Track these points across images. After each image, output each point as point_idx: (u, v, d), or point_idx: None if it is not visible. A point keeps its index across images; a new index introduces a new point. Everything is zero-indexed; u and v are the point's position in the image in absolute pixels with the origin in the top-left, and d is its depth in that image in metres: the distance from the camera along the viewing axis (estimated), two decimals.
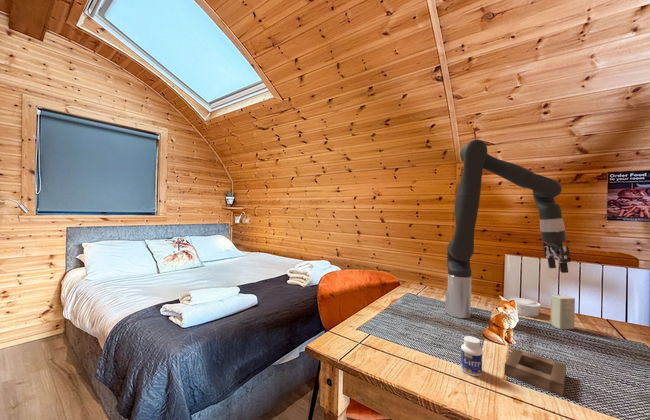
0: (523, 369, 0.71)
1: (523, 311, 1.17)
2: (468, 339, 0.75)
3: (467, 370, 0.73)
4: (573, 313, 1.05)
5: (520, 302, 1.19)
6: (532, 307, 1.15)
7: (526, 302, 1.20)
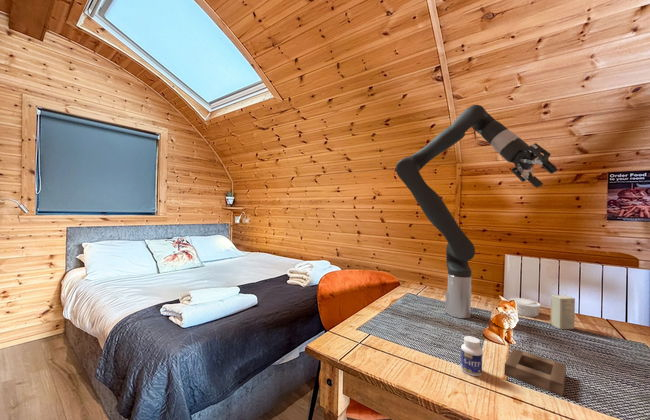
0: (523, 369, 0.71)
1: (523, 311, 1.17)
2: (468, 339, 0.75)
3: (467, 370, 0.73)
4: (573, 313, 1.05)
5: (520, 302, 1.19)
6: (532, 307, 1.15)
7: (526, 302, 1.20)
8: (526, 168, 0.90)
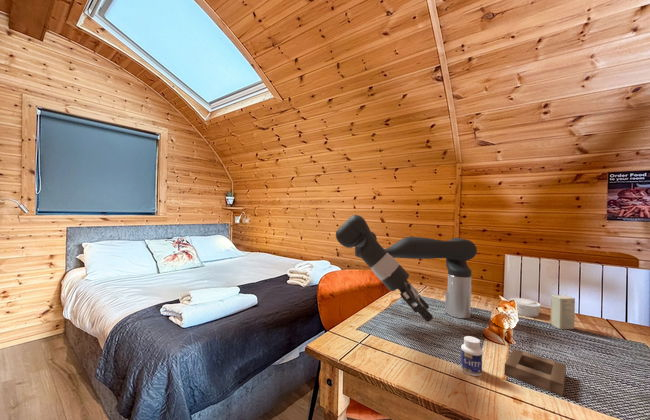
0: (523, 369, 0.71)
1: (523, 311, 1.17)
2: (468, 339, 0.75)
3: (467, 370, 0.73)
4: (573, 313, 1.05)
5: (520, 302, 1.19)
6: (532, 307, 1.15)
7: (526, 302, 1.20)
8: None
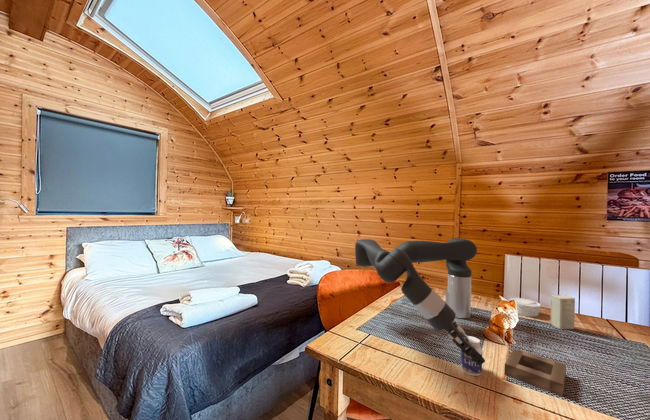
0: (523, 369, 0.71)
1: (523, 311, 1.17)
2: None
3: (467, 370, 0.73)
4: (573, 313, 1.05)
5: (520, 302, 1.19)
6: (532, 307, 1.15)
7: (526, 302, 1.20)
8: None
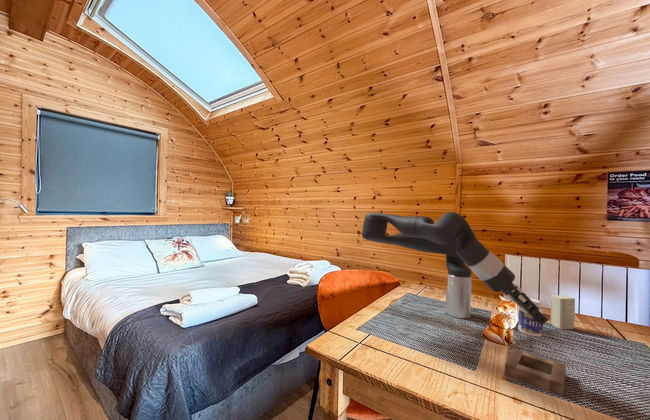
0: (523, 369, 0.71)
1: None
2: None
3: (527, 330, 0.72)
4: (573, 313, 1.05)
5: None
6: None
7: None
8: None
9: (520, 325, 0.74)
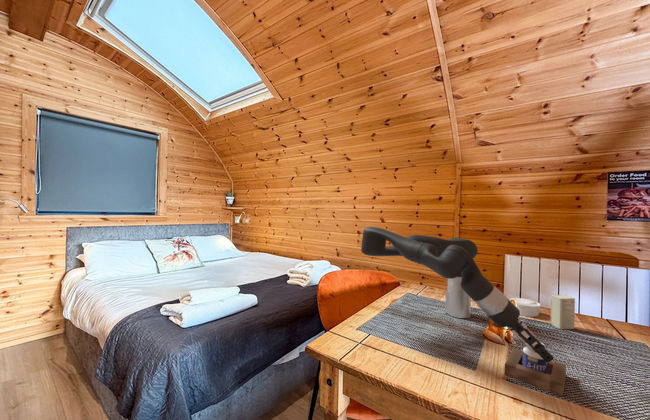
0: (523, 369, 0.71)
1: (523, 311, 1.17)
2: None
3: None
4: (573, 313, 1.05)
5: (520, 302, 1.19)
6: (532, 307, 1.15)
7: (526, 302, 1.20)
8: None
9: None
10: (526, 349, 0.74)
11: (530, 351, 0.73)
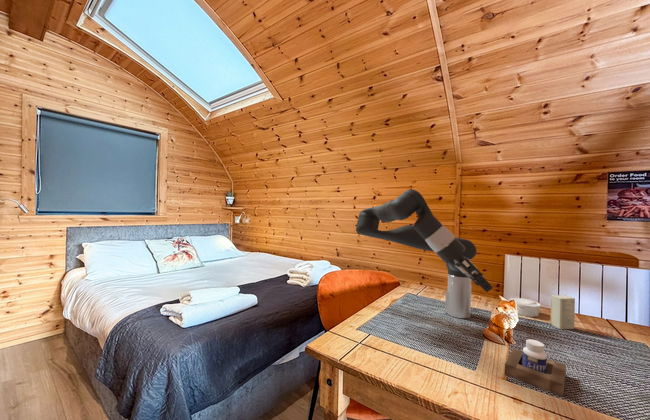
0: (523, 369, 0.71)
1: (523, 311, 1.17)
2: (531, 342, 0.74)
3: None
4: (573, 313, 1.05)
5: (520, 302, 1.19)
6: (532, 307, 1.15)
7: (526, 302, 1.20)
8: None
9: None
10: (526, 349, 0.74)
11: (530, 351, 0.73)
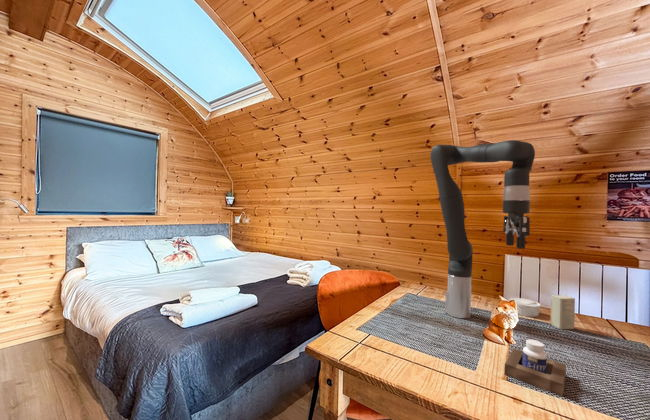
0: (523, 369, 0.71)
1: (523, 311, 1.17)
2: (531, 342, 0.74)
3: None
4: (573, 313, 1.05)
5: (520, 302, 1.19)
6: (532, 307, 1.15)
7: (526, 302, 1.20)
8: (510, 227, 0.93)
9: None
10: (526, 349, 0.74)
11: (530, 351, 0.73)
